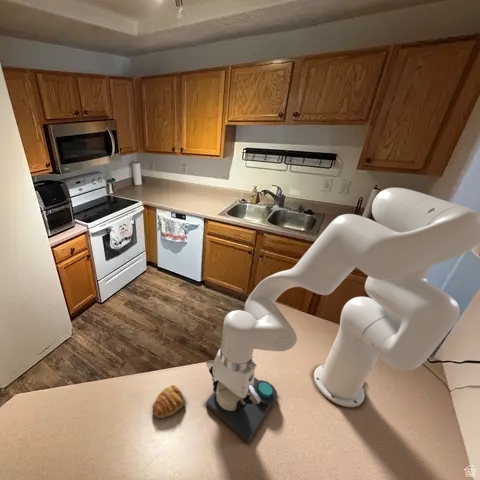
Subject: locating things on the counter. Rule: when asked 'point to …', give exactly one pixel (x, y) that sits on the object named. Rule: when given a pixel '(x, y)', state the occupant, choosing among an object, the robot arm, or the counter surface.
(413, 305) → the robot arm
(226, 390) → the bowl
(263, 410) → the dark grey flat block
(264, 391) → the button
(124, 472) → the counter surface
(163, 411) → the pastry
